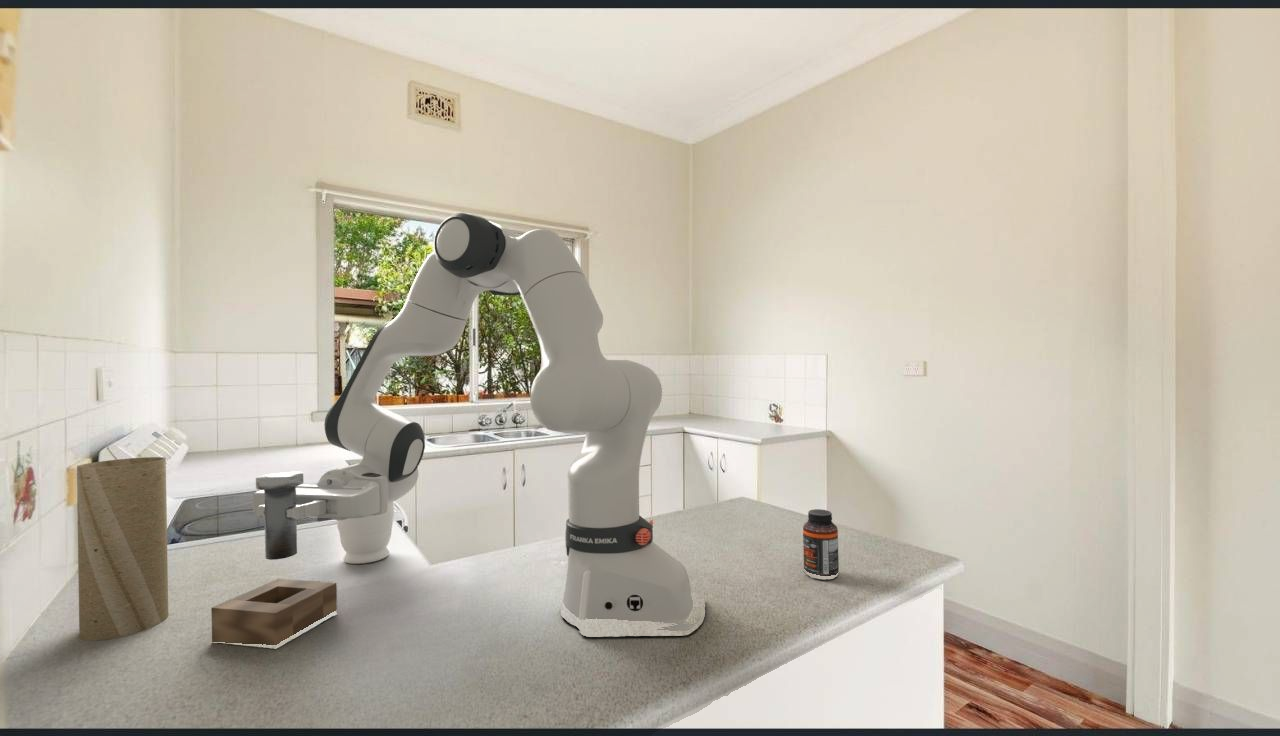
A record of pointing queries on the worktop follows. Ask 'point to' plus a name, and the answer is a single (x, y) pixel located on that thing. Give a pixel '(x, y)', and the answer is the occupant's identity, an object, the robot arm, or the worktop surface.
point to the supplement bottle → (820, 544)
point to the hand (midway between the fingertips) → (275, 513)
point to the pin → (279, 513)
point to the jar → (366, 537)
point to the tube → (122, 546)
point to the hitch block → (273, 611)
